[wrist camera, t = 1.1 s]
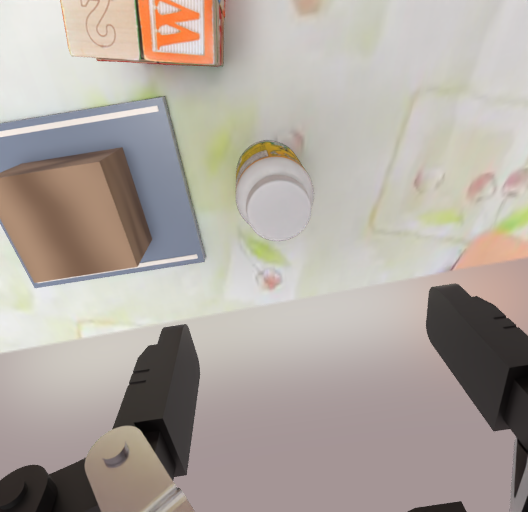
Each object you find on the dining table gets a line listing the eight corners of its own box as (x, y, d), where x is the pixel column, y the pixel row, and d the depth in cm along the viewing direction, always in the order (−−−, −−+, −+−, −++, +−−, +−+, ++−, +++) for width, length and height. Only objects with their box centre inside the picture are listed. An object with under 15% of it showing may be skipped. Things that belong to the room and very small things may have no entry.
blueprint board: (164, 96, 27) (161, 97, 26) (205, 256, 33) (204, 262, 32) (-40, 129, 27) (-51, 132, 26) (40, 282, 34) (34, 288, 33)
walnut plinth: (122, 147, 27) (99, 161, 23) (152, 239, 31) (137, 266, 27) (22, 163, 28) (-20, 180, 23) (63, 253, 31) (34, 283, 27)
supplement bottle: (223, 164, 29) (216, 201, 21) (277, 125, 28) (292, 148, 20) (260, 213, 32) (267, 265, 23) (311, 179, 30) (338, 221, 22)
